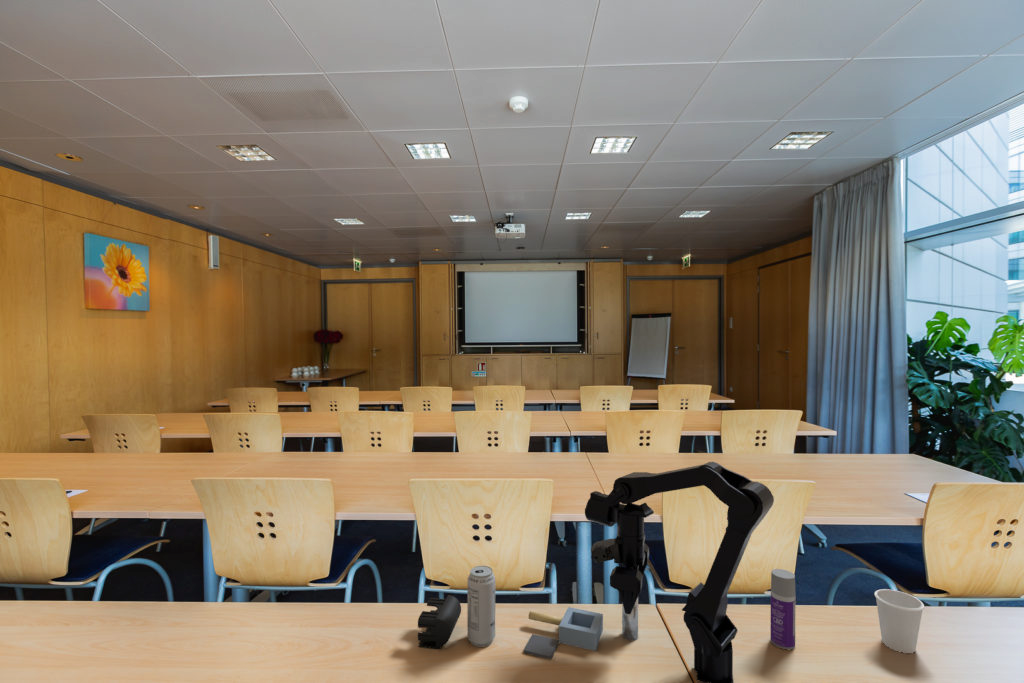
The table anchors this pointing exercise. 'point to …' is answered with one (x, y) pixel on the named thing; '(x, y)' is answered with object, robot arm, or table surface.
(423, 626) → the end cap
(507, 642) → the table surface
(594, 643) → the blue-grey block with rod
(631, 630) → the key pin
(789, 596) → the container
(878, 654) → the table surface
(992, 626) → the table surface
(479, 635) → the energy drink can
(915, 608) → the dixie cup
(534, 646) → the mat
